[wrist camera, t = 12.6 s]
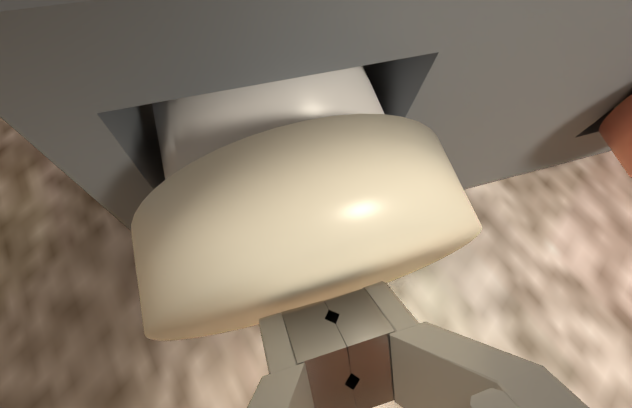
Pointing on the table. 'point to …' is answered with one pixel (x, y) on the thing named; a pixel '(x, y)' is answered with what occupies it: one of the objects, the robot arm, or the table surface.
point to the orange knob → (620, 133)
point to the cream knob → (288, 203)
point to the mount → (308, 59)
